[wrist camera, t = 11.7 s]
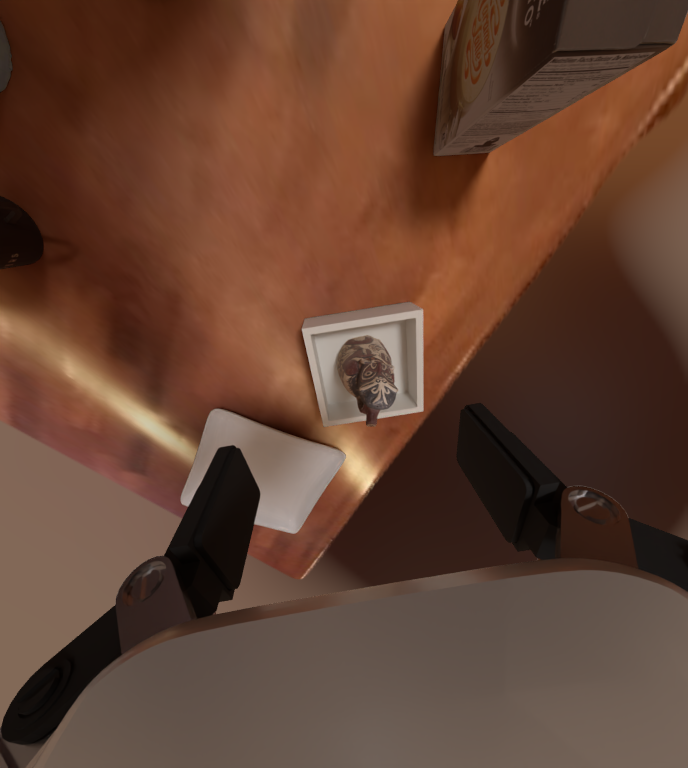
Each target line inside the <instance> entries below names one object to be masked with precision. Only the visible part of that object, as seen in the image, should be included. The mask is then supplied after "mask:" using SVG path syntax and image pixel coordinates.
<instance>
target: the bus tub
mask: <svg viewBox="0 0 688 768" xmlns="http://www.w3.org/2000/svg"><path fill="white" fill-rule="evenodd" d="M302 333H303V337H304V342H305V346H306V351H307V355H308V359H309V364H310V368H311V373H312V377H313V382H314V386H315V391H316V395H317V399H318V404H319V408H320V413H321V417H322V422H323V426H324V427H327V426H334V425H340V424H346V423H353V422H359V421H365V420H366V414H363V413H361V412H360V411H359V408H358V404H357V399H356V397H354V396H353V395H352V394H350V393H349V392H348V391H347V390H346V388H345V387H344V385H343V383H342V382H341V379H340V377H339V374H338V370H337V358H338V354H339V352H340V350H341V348H342V346H343V345H344V343H345V342H346V341H348V340H349V339H352V338H356V337H360V336H365V335H370V336H372V337H374V338H376V339H379V340H381V342H382V343H383V345H384V347H385V348H386V350H387V351H388V353H389V355H390V357H391V361H392V365H393V366H394V370H393V372H394V380H395V382H394V385H395V386H396V387H397V388H398V392H397V394H396V399H395V401H394V403H393V404H392V406H391V407H390V408H388V409H385V410H380V411H379V414H378V417H377V419H378V418H384V417H391V416H397V415H403V414H409V413H416V412H422V411H423V309H422V308H420V307H418V306H416V305H415V304H413V303H411V302H405V303H399V304H392V305H386V306H380V307H374V308H368V309H362V310H355V311H349V312H343V313H337V314H331V315H325V316H318V317H312V318H306V319H305V320H304V323H303V326H302Z"/></svg>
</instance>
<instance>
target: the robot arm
mask: <svg viewBox="0 0 688 768" xmlns="http://www.w3.org/2000/svg"><path fill="white" fill-rule="evenodd" d="M457 461H458V463H459V465H460V467H461V469H462V470H463V472H464V473H465V475H466V477H467V478H468V480H469V481H470V483H471V484H472V486H473V488H474V489H475V491H476V493H477V494H478V496H479V498H480V499H481V501H482V502H483V504H484V506H485V507H486V509H487V510H488V512H489V514H490V515H491V517H492V519H493V520H494V522H495V523H496V525H497V527H498V528H499V530H500V531H501V533H502V535H503V536H504V537H505V539H506V540H507V541H508V542H509V543H510V542H512V543H513V545H514V546H515V548H516V549H517V551H525V550H531V551H532V552H533V554H534V555H535V556H536V557H537V558H538V560H537V561H531V562H523V563H516V564H509V565H502V566H495V567H488V568H482V569H476V570H470V571H464V572H458V573H452V574H445V575H439V576H434V577H427V578H422V579H415V580H409V581H403V582H397V583H391V584H385V585H379V586H373V587H367V588H361V589H355V590H349V591H344V592H338V593H332V594H326V595H320V596H314V597H309V598H303V599H297V600H292V601H286V602H281V603H274V604H269V605H263V606H257V607H252V608H247V609H242V610H237V611H232V612H227V613H221V614H216V610H217V607H218V603H219V602H222V601H228V600H232V599H233V594H234V590H235V589H237V588H238V587H239V585H240V582H241V578H242V573H243V569H244V565H245V560H246V556H247V552H248V548H249V543H250V539H251V535H252V531H253V526H254V522H255V518H256V514H257V509H258V505H259V501H260V490H259V487H258V485H257V483H256V481H255V479H254V477H253V475H252V472H251V470H250V468H249V466H248V464H247V462H246V460H245V458H244V456H243V454H242V451H241V449H240V448H236V447H235V446H234V445H231V446H225V447H220V448H218V450H217V451H216V453H215V455H214V457H213V459H212V461H211V463H210V466H209V468H208V470H207V472H206V474H205V476H204V478H203V480H202V482H201V484H200V485H199V487H198V488H197V490H196V492H195V494H194V496H193V498H192V500H191V502H190V504H189V506H188V508H187V510H186V512H185V514H184V516H183V518H182V521H181V523H180V525H179V527H178V529H177V531H176V533H175V535H174V537H173V539H172V541H171V543H170V545H169V547H168V549H167V551H166V553H165V555H164V556H156V557H154V558H151V559H149V560H147V561H145V562H144V563H142V564H141V565H139V566H138V567H137V568H136V569H135V570H133V572H132V573H131V574H130V575H129V576H128V577H127V578H126V579H125V581H124V582H123V584H122V586H121V587H120V589H119V591H118V594H117V596H116V605H115V606H114V607H112V608H111V609H110V610H109V611H108V612H106V613H105V614H104V615H103V616H102V617H101V618H99V619H98V620H97V621H96V622H94V623H93V624H92V625H91V626H90V627H88V628H87V629H86V630H85V631H84V632H82V633H81V634H80V635H79V636H78V637H76V638H75V639H74V640H73V641H72V642H70V643H69V644H68V645H67V646H66V647H64V648H63V649H62V650H61V651H60V652H58V653H57V654H56V655H55V656H54V657H53V658H51V659H50V660H49V661H48V662H46V663H45V664H44V665H43V666H42V667H41V668H40V669H39V670H38V671H36V672H35V673H34V674H33V675H32V676H31V677H30V678H29V680H28V681H27V682H26V683H25V685H24V686H23V687H22V688H21V689H20V690H19V692H18V693H17V695H16V696H15V698H14V700H13V701H12V702H11V704H10V706H9V708H8V710H7V712H6V714H5V716H4V719H3V723H2V726H1V728H0V768H688V540H685V539H683V538H680V537H677V536H675V535H672V534H670V533H667V532H664V531H662V530H659V529H656V528H654V527H651V526H649V525H646V524H643V523H640V522H638V521H635V520H633V519H630V518H628V516H627V514H626V511H625V510H624V509H623V508H622V506H621V505H620V504H619V503H618V502H616V501H615V500H614V499H613V498H611V497H610V496H608V495H606V494H604V493H603V492H601V491H598V490H595V489H593V488H589V487H585V486H571V487H566V486H565V485H564V484H563V483H562V482H561V481H560V480H559V479H558V478H557V477H556V476H555V475H554V474H553V473H552V472H551V471H550V470H549V469H548V468H547V467H546V466H545V465H544V464H543V463H542V462H541V461H540V460H539V459H538V458H537V457H536V456H535V455H534V454H533V453H532V452H531V451H530V450H529V449H528V448H527V447H526V446H525V445H524V444H523V443H522V442H521V441H520V440H519V439H518V438H517V437H516V436H515V435H514V434H513V433H512V432H510V431H509V430H508V429H506V428H505V427H504V426H503V424H502V423H501V422H500V421H499V420H498V419H497V418H496V417H495V416H494V415H493V414H492V413H491V412H490V411H489V410H488V409H487V408H486V407H485V406H484V405H483V404H481V403H477V404H471V405H466V406H465V408H464V409H463V410H461V413H460V425H459V435H458V446H457Z"/></svg>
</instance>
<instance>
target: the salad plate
mask: <svg viewBox="0 0 688 768" xmlns="http://www.w3.org/2000/svg"><path fill="white" fill-rule="evenodd" d="M231 445H234V446H235V447H236V448H240V449H241V451H242V454H243V456H244V458H245V460H246V462H247V464H248V466H249V468H250V470H251V472H252V475H253V477H254V479H255V481H256V483H257V485H258V487H259V490H260V501H259V505H258V509H257V514H256V518H255V522H254V524H257V525H261V526H264V527H268V528H272V529H277V530H281V531H284V532H288V533H297V532H298V531H299V529H300V528H301V526H302V525H303V523H304V522H305V520H306V518H307V517H308V515H309V513H310V512H311V510H312V509H313V507H314V505H315V504H316V502H317V501H318V499H319V498H320V496H321V494H322V493H323V491H324V490H325V488H326V487H327V485H328V484H329V483H330V481H331V480H332V478H333V477H334V476H335V474H336V473H337V471H338V470H339V468H340V467H341V465H342V464H343V462H344V460H345V458H346V455H345V454H344V453H343V452H342V451H340V450H338V449H336V448H333V447H330V446H326V445H323V444H319V443H316V442H312V441H309V440H306V439H303V438H300V437H296V436H293V435H291V434H288V433H285V432H282V431H279V430H276V429H274V428H271V427H268V426H266V425H263V424H261V423H258V422H255V421H253V420H250V419H248V418H245V417H243V416H241V415H238V414H236V413H233V412H231V411H228V410H225V409H213V410H212V411H211V412H210V414H209V416H208V418H207V421H206V424H205V428H204V431H203V434H202V437H201V441H200V444H199V447H198V450H197V453H196V457H195V460H194V463H193V466H192V468H191V471H190V474H189V476H188V479H187V481H186V484H185V487H184V489H183V491H182V495H181V503H182V504H183V505H185V506H189V504H190V502H191V500H192V498H193V496H194V494H195V492H196V490H197V488H198V487H199V485H200V484H201V482H202V480H203V478H204V476H205V474H206V472H207V470H208V468H209V466H210V463H211V461H212V459H213V457H214V455H215V453H216V451H217V450H218V448H220V447H225V446H231Z"/></svg>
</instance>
